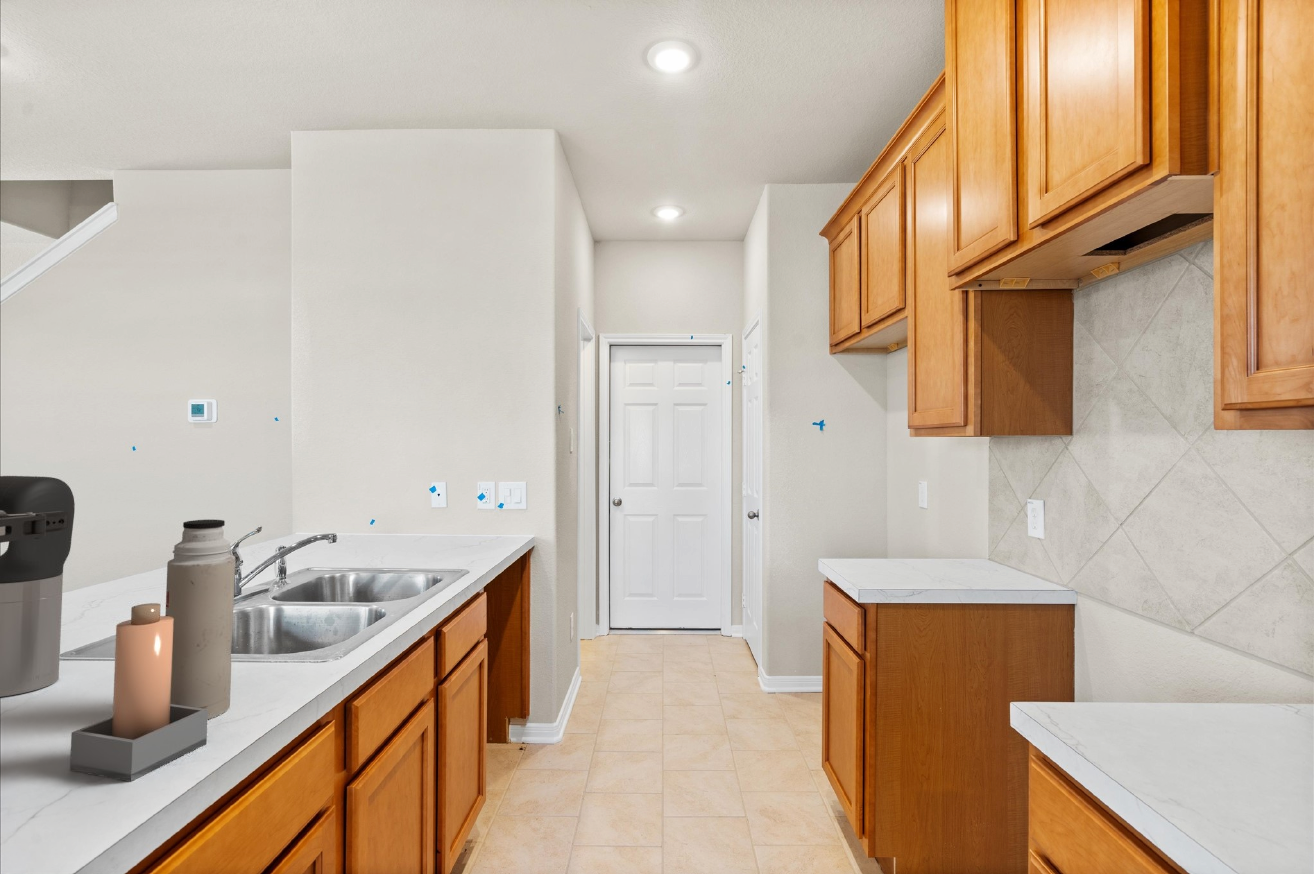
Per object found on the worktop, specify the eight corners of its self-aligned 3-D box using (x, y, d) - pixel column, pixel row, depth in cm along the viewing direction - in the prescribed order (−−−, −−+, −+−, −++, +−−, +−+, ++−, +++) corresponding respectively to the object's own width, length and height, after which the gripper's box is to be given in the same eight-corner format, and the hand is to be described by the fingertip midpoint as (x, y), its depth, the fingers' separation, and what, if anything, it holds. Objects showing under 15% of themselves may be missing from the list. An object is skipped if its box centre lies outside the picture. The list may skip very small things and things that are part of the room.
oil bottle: (99, 758, 74) (105, 609, 74) (146, 737, 79) (151, 599, 80) (134, 764, 73) (140, 613, 73) (179, 743, 78) (185, 602, 79)
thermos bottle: (151, 728, 84) (159, 524, 84) (173, 704, 91) (181, 517, 92) (220, 720, 86) (227, 523, 87) (236, 698, 94) (243, 516, 94)
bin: (70, 770, 73) (71, 732, 73) (150, 734, 82) (151, 701, 82) (131, 781, 71) (132, 742, 71) (206, 743, 80) (207, 709, 80)
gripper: (-83, 501, 56) (89, 489, 72) (-228, 496, 57) (-25, 485, 73) (-87, 582, 56) (87, 552, 72) (-232, 577, 56) (-27, 548, 73)
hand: (31, 518), depth 72 cm, fingers open, 8 cm apart
